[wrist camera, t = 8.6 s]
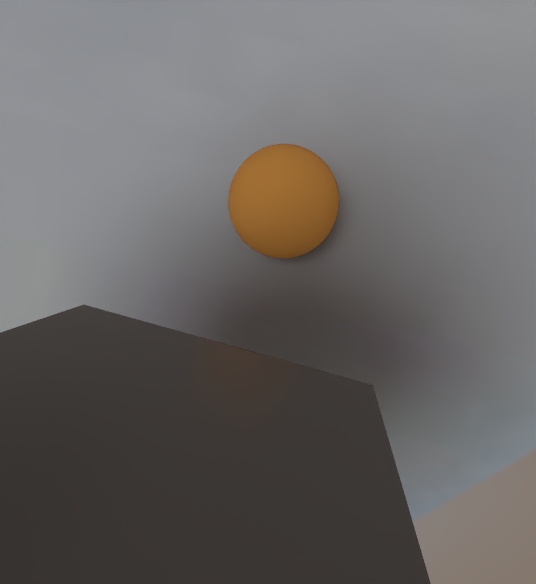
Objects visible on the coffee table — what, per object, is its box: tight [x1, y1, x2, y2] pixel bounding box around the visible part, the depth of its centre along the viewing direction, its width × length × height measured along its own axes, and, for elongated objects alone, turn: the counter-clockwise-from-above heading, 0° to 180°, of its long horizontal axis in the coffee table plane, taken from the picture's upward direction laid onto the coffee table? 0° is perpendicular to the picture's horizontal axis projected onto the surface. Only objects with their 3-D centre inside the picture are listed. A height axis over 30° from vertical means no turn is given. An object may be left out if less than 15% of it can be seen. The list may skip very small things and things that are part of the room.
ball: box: [228, 144, 339, 258], centre depth 16 cm, size 5×5×5 cm
